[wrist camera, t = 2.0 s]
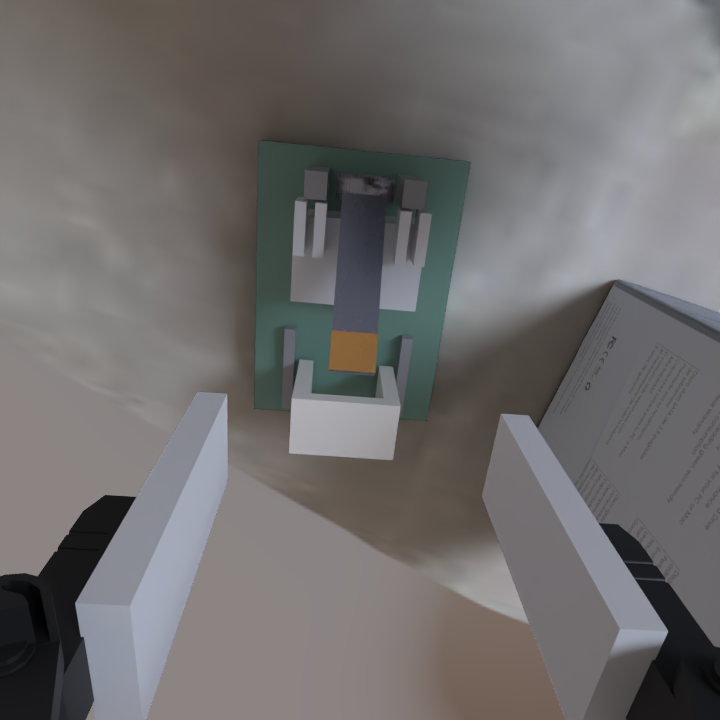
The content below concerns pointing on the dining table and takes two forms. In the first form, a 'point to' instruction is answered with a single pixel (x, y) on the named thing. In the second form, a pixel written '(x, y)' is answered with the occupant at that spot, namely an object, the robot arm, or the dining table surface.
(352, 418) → the white open-sided box
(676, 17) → the dining table surface
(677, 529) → the hard drive box
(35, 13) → the dining table surface
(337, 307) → the grey rectangular bar
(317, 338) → the board
